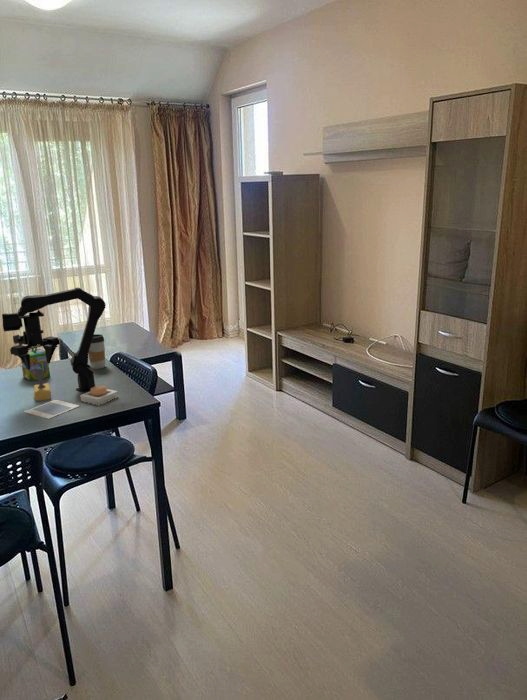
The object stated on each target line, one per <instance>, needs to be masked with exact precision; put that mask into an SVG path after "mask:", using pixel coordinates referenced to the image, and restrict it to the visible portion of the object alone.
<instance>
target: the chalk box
mask: <svg viewBox="0 0 527 700" xmlns="http://www.w3.org/2000/svg"><path fill="white" fill-rule="evenodd" d="M32 347H33V346H32ZM27 354H30V370H27V368H26V366H25V365H24V363H23V361H22V360H21V359H20V362H21V363H20V364H21V370H22V377H24V379H25V378H26V379H27V380H28V381H30V382H33V381H36V380H37V381H38V379H37V378H36V376H35V370H36V369H37V368H42V369H43V370H44V378H43V379H46V378H50V377H51V373H50V363H49V364H48V363H47V360H46V353H45V349H41V348H34V349H31V350H28V353H27Z"/></svg>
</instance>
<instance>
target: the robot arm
mask: <svg viewBox="0 0 527 700" xmlns="http://www.w3.org/2000/svg"><path fill="white" fill-rule="evenodd" d="M77 299H78V300H79V301H81V302H82V303H85V305H87V306H88V313H87V315H88V316H87V319H86V322H85V327H84V330H83V334H82V337H81V339H80V344H79V347H78V349H77V351H76V352H74V351H72V356H71V359H69V362H70V364H71V365H70V366H71V368H72V371H73V372H74V373H75V374H77V384H78V387H77V388H75V390H76V391H79V392H84V393H87V392H90V391H91V388H92V387H95V386H96V384H95V383H96V382H95V381H96V380H95V374H94V370H93V368H92V367H91V364H90V365H89V354H88V352H89V349H90V346H91V342H92V339H93V335H95V331H96V328H97V324H98V321H99V320H100V318H101V316H103V314H104V311H105V309H106V302H105V300H104V299H103V298H102V297H101V296H98V295H93V294H91V293H90V292H89V293H88V292H87V291H85V290H83V289H82V288H81V287H74V288H72V289H67V290H62V291H57V292H54V293H49V294H41V295H40V294H35V295H34V294H33V295H30V294H29V295H26V296H23V298H22V299H21V302H20V307H19V309H18V310H17V312H14V313H13V312H12V313H2V314H1V317H2V328H3V332H14V331H20V330H21V328H23V326H24V331H23V333H22V335H20V334H16V335H13V336H12V341H13V343H14V344H15V345H12V346H11V347H10V349H9V351H10V352H9V353H10V355H13V356H15V357H18V358H19V359H20V361H21V360H22V361H23V363H24V365H25V366H26V368H27V370H30V354H27V353H28V351H31V350H32V349H34V350H35V348H37V349H39V348H40V347H41V348H43V350H44V351H45V353H46V360H47V363H48V364H49V365H50V363H51V361H52V357H53V355H54V353H55V352H56V351H55V350H56V349H57V348H58V346H59V345H61V341H60V339H59V338H58V337H56V336H47V337H44V338H43V334H44V329H43V330H42V327H41V321H40V320H41V319H40V318H41V317H44V316H45V314H44V312H43V311H41V309H43V308H45V307H47V306H50V305H55V304H58V303H64V302H68V301H73V300H77ZM22 319H23V320H22ZM23 324H24V325H23ZM16 344H17V345H16ZM32 346H33V347H32Z"/></svg>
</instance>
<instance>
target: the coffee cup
mask: <svg viewBox="0 0 527 700" xmlns="http://www.w3.org/2000/svg"><path fill="white" fill-rule="evenodd" d="M105 352H106V351H105V338H104V336H103V334H99V333H98V334H97V333H94V335H93V339H92V342H91V346H90V349H89V352H88V360H89V362H90V366H91V367H92V370H93V369H94V370H101V369H104V368H105V367H106V353H105Z"/></svg>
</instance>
